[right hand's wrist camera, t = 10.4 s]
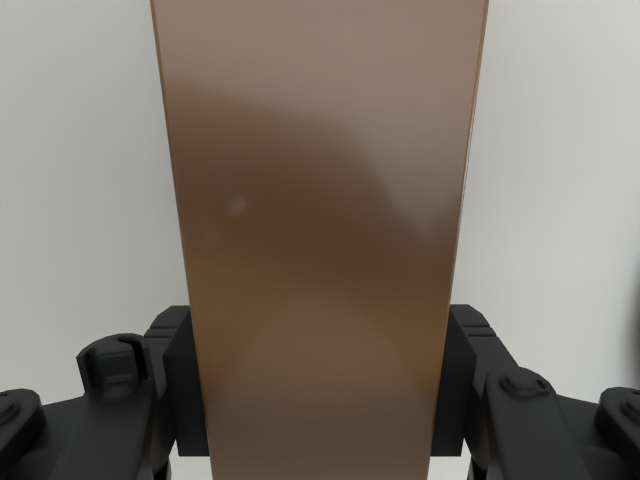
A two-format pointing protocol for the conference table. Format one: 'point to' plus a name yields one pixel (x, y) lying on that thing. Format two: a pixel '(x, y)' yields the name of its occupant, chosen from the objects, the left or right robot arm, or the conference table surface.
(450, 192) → the post
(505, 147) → the conference table surface
